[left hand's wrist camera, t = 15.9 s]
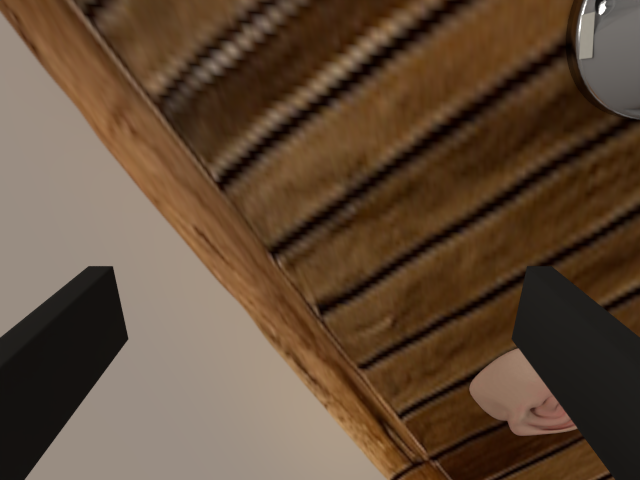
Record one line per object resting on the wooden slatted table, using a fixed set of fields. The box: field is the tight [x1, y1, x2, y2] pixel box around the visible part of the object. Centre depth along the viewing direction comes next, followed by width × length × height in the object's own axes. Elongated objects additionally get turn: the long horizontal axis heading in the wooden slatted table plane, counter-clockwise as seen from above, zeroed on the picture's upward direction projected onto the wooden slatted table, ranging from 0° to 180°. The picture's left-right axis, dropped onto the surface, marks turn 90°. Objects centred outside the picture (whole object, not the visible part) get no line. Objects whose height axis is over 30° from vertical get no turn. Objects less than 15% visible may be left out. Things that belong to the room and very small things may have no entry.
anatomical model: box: [469, 348, 577, 436], centre depth 44 cm, size 13×4×12 cm
